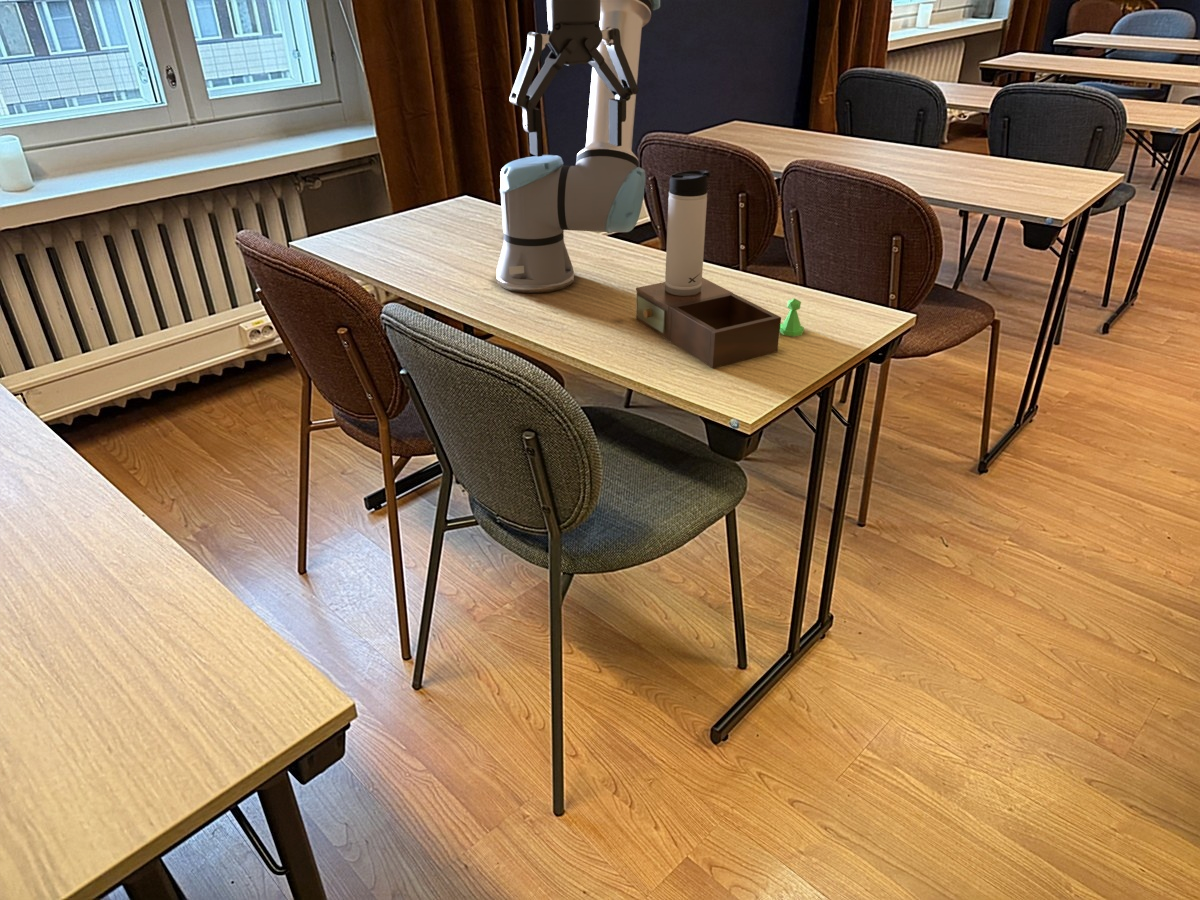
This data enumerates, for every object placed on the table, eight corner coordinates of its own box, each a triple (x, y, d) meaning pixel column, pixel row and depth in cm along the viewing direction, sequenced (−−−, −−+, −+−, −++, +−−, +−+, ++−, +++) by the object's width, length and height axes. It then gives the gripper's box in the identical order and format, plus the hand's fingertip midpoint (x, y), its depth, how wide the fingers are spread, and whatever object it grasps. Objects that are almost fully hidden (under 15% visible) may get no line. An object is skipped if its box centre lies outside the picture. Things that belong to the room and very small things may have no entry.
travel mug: (701, 297, 143) (709, 176, 133) (662, 295, 144) (667, 174, 134) (704, 285, 149) (712, 167, 138) (667, 282, 150) (672, 165, 140)
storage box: (629, 321, 150) (629, 288, 147) (696, 306, 156) (698, 275, 153) (705, 370, 133) (708, 334, 130) (777, 351, 139) (781, 317, 136)
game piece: (808, 331, 146) (813, 298, 143) (794, 338, 144) (798, 304, 141) (787, 324, 149) (791, 292, 146) (773, 331, 146) (776, 298, 143)
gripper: (501, -4, 111) (511, 164, 122) (663, -11, 121) (658, 145, 132) (479, -7, 116) (491, 153, 128) (636, -13, 127) (634, 136, 138)
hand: (576, 149), depth 130 cm, fingers open, 13 cm apart
